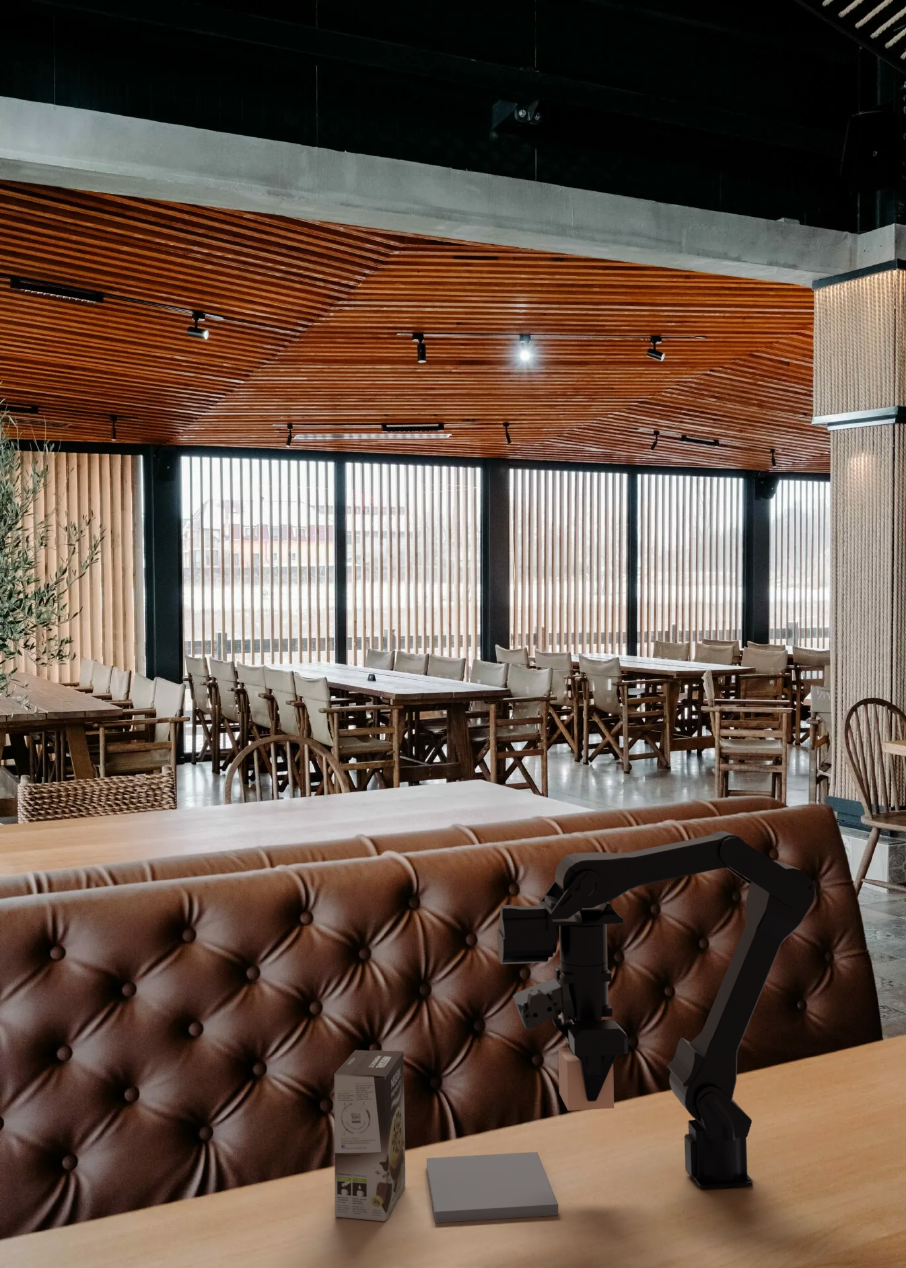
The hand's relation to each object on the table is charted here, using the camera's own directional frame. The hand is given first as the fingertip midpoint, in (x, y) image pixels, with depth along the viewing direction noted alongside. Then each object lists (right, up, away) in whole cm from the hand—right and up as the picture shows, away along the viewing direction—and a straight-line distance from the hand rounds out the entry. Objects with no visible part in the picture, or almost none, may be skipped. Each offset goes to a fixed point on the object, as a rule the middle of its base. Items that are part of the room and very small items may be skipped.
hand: (586, 1091), depth 131 cm
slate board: (-12, -11, -2) cm, 16 cm away
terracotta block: (0, -1, 0) cm, 1 cm away
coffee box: (-26, -11, -4) cm, 28 cm away
